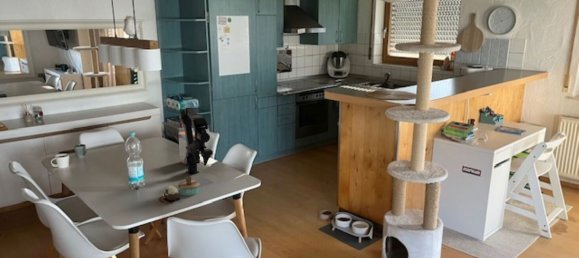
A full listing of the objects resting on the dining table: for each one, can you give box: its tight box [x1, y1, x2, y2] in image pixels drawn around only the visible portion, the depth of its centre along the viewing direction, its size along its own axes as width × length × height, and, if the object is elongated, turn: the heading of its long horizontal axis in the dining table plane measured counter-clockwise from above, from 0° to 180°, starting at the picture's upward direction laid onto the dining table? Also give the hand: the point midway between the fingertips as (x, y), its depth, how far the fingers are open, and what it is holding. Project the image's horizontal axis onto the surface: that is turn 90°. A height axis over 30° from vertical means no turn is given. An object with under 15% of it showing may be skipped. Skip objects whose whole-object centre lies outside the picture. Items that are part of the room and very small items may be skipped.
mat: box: [194, 176, 215, 188], centre depth 260 cm, size 12×12×1 cm
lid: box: [177, 176, 200, 190], centre depth 245 cm, size 12×12×5 cm
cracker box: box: [178, 131, 195, 165], centre depth 290 cm, size 14×6×21 cm, turn 41°
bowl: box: [178, 187, 200, 196], centre depth 246 cm, size 11×11×4 cm
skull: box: [159, 185, 181, 204], centre depth 237 cm, size 12×10×10 cm
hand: (200, 163), depth 258 cm, fingers open, 9 cm apart
